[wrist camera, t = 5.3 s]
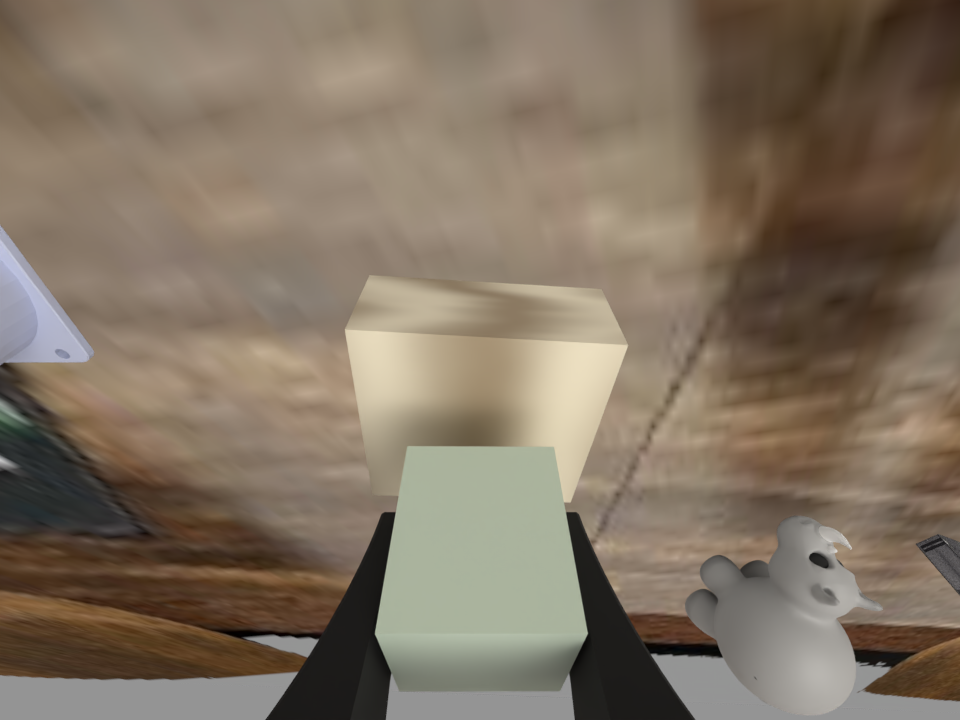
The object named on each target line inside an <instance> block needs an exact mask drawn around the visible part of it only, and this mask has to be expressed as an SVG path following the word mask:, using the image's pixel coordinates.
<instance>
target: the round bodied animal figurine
mask: <svg viewBox="0 0 960 720" xmlns="http://www.w3.org/2000/svg"><path fill="white" fill-rule="evenodd" d="M777 540H778V547H777V549H776V551H775V553H774V554H773V556H772V557H771V559H770V561H769V564H767V563H766V562H764V561H761V560H755V561H751V562H749V563H747V564H745V565H744V566H743V567H742V568H741V569H740V570H739V568H738V567H737V566H736V565H735V564H734V563H733V562H732V561H731V560H730V559H728V558H727V557H725V556H723V555H715V556H712V557H711V558H709V559H707V560H706V561H705V562H704V563H703V564H702V566H701V567H700V577H701V579H702V581H703V583H704V584H705V585H706V587H707V588H708V589H709V590H710V591H709V590H707V589H699V590H697V591H695V592H693V593H692V594H691V595H690V596H689V597H688V598H687V600H686V602H685V610H686V613H687V615H688V617H689V618H690V619H691V621H692V622H693V623H694V624H695V625H696V626H697V627H698V628H699V629H700V630H702V631H703V632H704V633H706V634H707V635H709V636H711V637H713V638H714V639H715V640H716V641H717V643H718V647H719V649H720V652H721V654H722V656H723V658H724V660H725V662H726V664H727V665H728V667H729V668H730V670H731V671H732V673H733V674H734V675H735V676H736V678H737V679H738V680H739V681H740V682H741V683H742V684H743V685H744V686H745V687H746V688H747V689H748V690H749V691H750V692H752V693H753V694H754V695H755V696H757V697H758V698H759V699H760V700H762V701H763V702H765V703H767V704H769V705H771V706H773V707H775V708H778V709H780V710H783V711H785V712H788V713H792V714H797V715H805V716H811V715H821V714H825V713H828V712H830V711H832V710H834V709H836V708H837V707H839V706H840V705H842V704H843V703H844V702H845V701H846V699H847V698H848V697H849V695H850V693H851V691H852V689H853V686H854V683H855V678H856V661H855V656H854V651H853V648H852V645H851V643H850V640H849V638H848V636H847V634H846V632H845V630H844V629H843V627H842V626H841V624H840V623H839V621H838V620H837V619H836V618H838V617H841V616H843V615H845V614H847V613H848V612H849V611H850V610H851V609H852V608H854V607H861V608H864V609H867V610H872V611H881V610H883V608H882V606H881V605H880V604H879V603H877V602H875V601H873V600H871V599H869V598H868V597H866V596H865V595H864V594H863V593H862V592H861V591H860V589H859V587H858V585H857V583H856V581H855V576H854V574H853V573H851V572H850V571H848V570H847V569H846V568H844V566H843V564H842V563H841V562H840V561H839V560H837V559H836V557H835V553H837V549H836V548H835V547H834V545H833V542H837V543H840V544H842V545H844V546H846V547H848V548H849V549H850V550H851V549H852V548H851V546H850V544H849V542H848V540H847V539H846V538H845V537H844V536H843V535H842V534H841V533H840V532H839V531H837V530H835V529H833V528H830V527H826V526H823V525H821V524H820V523H818V522H817V521H815V520H814V519H812V518H809V517H805V516H792V517H789V518H786V519H785V520H783V521H782V522H781V523H780V524H779V526H778V529H777ZM711 591H712V592H713V593H712V592H711Z"/></svg>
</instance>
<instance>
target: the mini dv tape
mask: <svg viewBox="0 0 960 720" xmlns="http://www.w3.org/2000/svg"><path fill="white" fill-rule="evenodd" d="M916 545H917V547H918V548H919V549H920V550H921V551H922V552H923V554H924V555H925V556H926V557H927V558H928V559H929V561H930V562H931V563H932V564H933V565H934V566H935V568H936V569H937V570H938V571H939V572H940V573H941V574H942V576H943V577H944V578H945V579H946V580H947V581H948V583H949V584H950V585H951V586H952V587H953V588H954V590H955V591H956V592H957V593H958V594H959V595H960V542H958V541H956V540H953V539H951V538H948V537H945V536H943V535H940V534H937V535H935V536H932V537H930V538H928V539H926V540H923V541H921V542H919V543H916Z"/></svg>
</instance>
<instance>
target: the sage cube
mask: <svg viewBox="0 0 960 720" xmlns="http://www.w3.org/2000/svg"><path fill="white" fill-rule="evenodd" d="M587 634H588V632H587V626H586V621H585V615H584V610H583V604H582V599H581V593H580V588H579V582H578V577H577V571H576V566H575V560H574V555H573V549H572V544H571V538H570V533H569V527H568V522H567V516H566V511H565V505H564V500H563V494H562V489H561V483H560V478H559V472H558V467H557V461H556V456H555V450H554V447H487V446H407V451H406V457H405V462H404V468H403V474H402V480H401V486H400V491H399V497H398V503H397V509H396V514H395V520H394V526H393V532H392V538H391V543H390V549H389V555H388V561H387V567H386V572H385V578H384V584H383V590H382V596H381V601H380V607H379V613H378V619H377V624H376V630H375V635H376V637H377V640H378V642H379V644H380V647H381V649H382V652H383V654H384V656H385V659H386V661H387V663H388V666H389V668H390V670H391V673H392V675H393V678H394V680H395V682H396V685H397V687H398V689H399V692H466V691H560V690H561V688H562V686H563V684H564V682H565V680H566V678H567V676H568V674H569V672H570V670H571V668H572V665H573V663H574V661H575V659H576V657H577V655H578V653H579V651H580V649H581V647H582V645H583V643H584V641H585V639H586V637H587Z"/></svg>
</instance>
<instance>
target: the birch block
mask: <svg viewBox="0 0 960 720" xmlns="http://www.w3.org/2000/svg"><path fill="white" fill-rule="evenodd" d="M345 334H346V340H347V346H348V352H349V358H350V364H351V370H352V376H353V382H354V388H355V394H356V400H357V405H358V411H359V417H360V423H361V429H362V435H363V441H364V447H365V453H366V459H367V465H368V471H369V477H370V483H371V489H372V494H373V495H384V496H399V491H400V486H401V480H402V474H403V468H404V462H405V457H406V451H407V446H487V447H554V450H555V456H556V461H557V467H558V472H559V478H560V483H561V489H562V494H563V500H564V502H569V503H571V500H572V497H573V495H574V492H575V489H576V487H577V484H578V481H579V478H580V476H581V473H582V470H583V467H584V465H585V462H586V459H587V457H588V454H589V451H590V448H591V446H592V443H593V440H594V437H595V435H596V432H597V429H598V427H599V424H600V421H601V418H602V416H603V413H604V410H605V407H606V405H607V402H608V399H609V397H610V394H611V391H612V388H613V386H614V383H615V380H616V377H617V375H618V372H619V369H620V367H621V364H622V361H623V358H624V356H625V353H626V350H627V347H628V343H627V341H626V339H625V337H624V335H623V333H622V331H621V329H620V327H619V325H618V322H617V320H616V318H615V316H614V314H613V312H612V310H611V308H610V306H609V304H608V302H607V299H606V297H605V295H604V293H603V291H602V289H592V288H575V287H558V286H542V285H525V284H509V283H492V282H475V281H459V280H442V279H426V278H409V277H392V276H376V275H369V278H368V280H367V282H366V284H365V286H364V288H363V291H362V293H361V295H360V297H359V299H358V302H357V304H356V306H355V308H354V310H353V313H352V315H351V317H350V319H349V321H348V323H347V326H346V328H345Z"/></svg>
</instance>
